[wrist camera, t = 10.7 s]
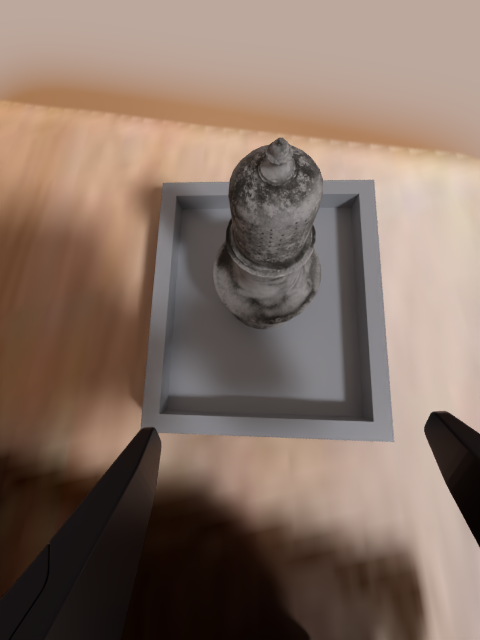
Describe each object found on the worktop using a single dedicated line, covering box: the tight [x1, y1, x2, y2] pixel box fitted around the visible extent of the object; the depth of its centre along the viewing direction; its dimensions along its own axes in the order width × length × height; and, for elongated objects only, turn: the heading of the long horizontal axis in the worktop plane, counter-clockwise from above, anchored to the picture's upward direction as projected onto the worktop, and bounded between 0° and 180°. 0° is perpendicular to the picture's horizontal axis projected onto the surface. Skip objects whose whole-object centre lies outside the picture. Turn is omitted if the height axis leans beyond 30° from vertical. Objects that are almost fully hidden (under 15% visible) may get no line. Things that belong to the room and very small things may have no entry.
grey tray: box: [141, 180, 394, 442], centre depth 18 cm, size 16×14×2 cm
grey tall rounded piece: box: [213, 138, 323, 329], centre depth 12 cm, size 6×6×12 cm
